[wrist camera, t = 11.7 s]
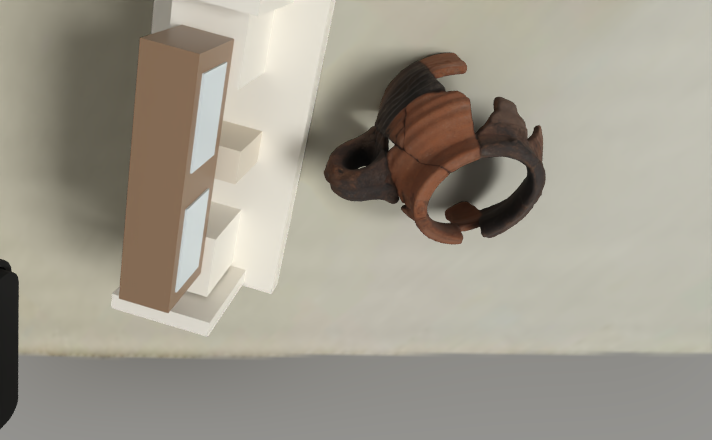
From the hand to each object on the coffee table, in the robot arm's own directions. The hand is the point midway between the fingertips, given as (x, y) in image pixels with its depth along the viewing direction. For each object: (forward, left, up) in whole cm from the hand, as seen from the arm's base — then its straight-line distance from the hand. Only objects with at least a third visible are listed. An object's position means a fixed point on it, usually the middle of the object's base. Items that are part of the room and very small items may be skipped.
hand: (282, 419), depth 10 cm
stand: (+7, -11, -30) cm, 33 cm away
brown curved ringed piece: (+4, +2, -31) cm, 31 cm away
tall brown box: (+7, -11, -24) cm, 27 cm away
